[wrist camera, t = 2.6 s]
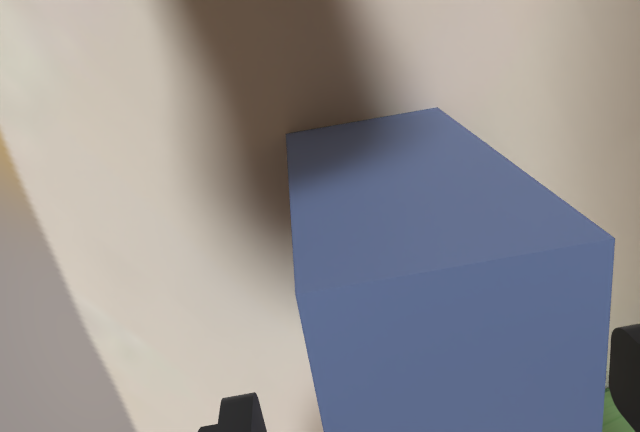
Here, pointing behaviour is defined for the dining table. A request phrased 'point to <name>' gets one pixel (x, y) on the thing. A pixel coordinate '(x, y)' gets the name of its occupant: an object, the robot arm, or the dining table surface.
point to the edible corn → (613, 417)
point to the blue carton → (443, 283)
